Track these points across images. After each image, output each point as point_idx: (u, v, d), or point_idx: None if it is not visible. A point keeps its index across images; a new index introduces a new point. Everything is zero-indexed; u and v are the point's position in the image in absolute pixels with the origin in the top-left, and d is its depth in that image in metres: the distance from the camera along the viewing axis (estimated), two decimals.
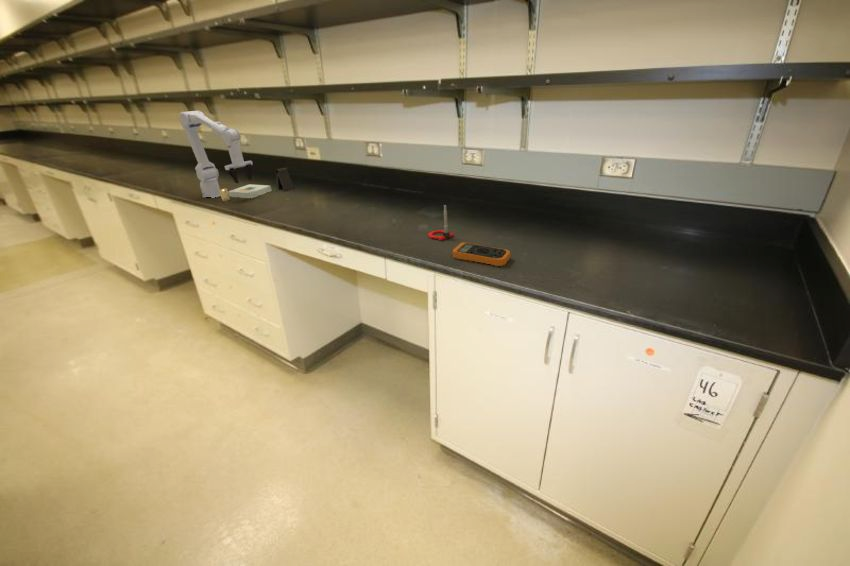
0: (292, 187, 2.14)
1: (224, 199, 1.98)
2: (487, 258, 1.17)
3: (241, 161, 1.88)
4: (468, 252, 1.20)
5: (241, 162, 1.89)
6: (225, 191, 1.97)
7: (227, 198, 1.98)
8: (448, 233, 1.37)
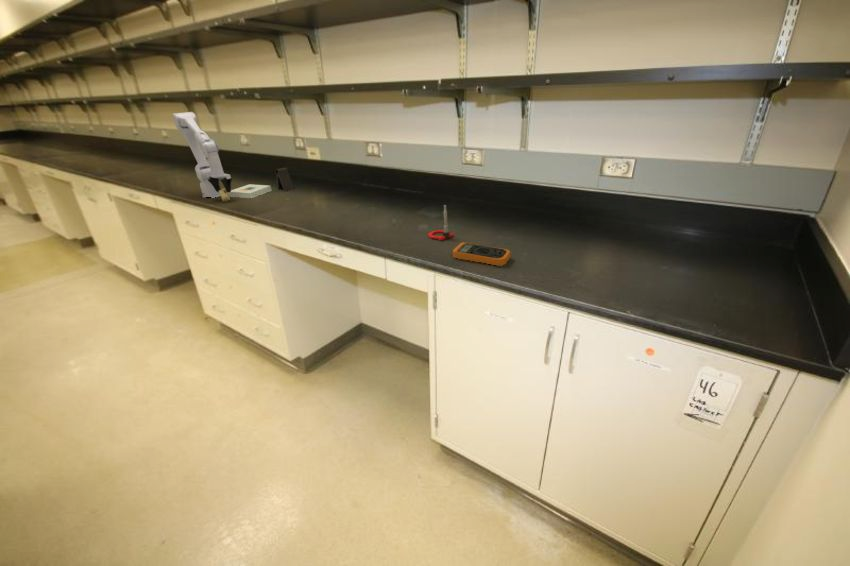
0: (292, 187, 2.14)
1: (224, 199, 1.98)
2: (487, 258, 1.17)
3: (213, 173, 1.90)
4: (468, 252, 1.20)
5: (213, 174, 1.91)
6: (225, 191, 1.97)
7: (227, 198, 1.98)
8: (448, 233, 1.37)
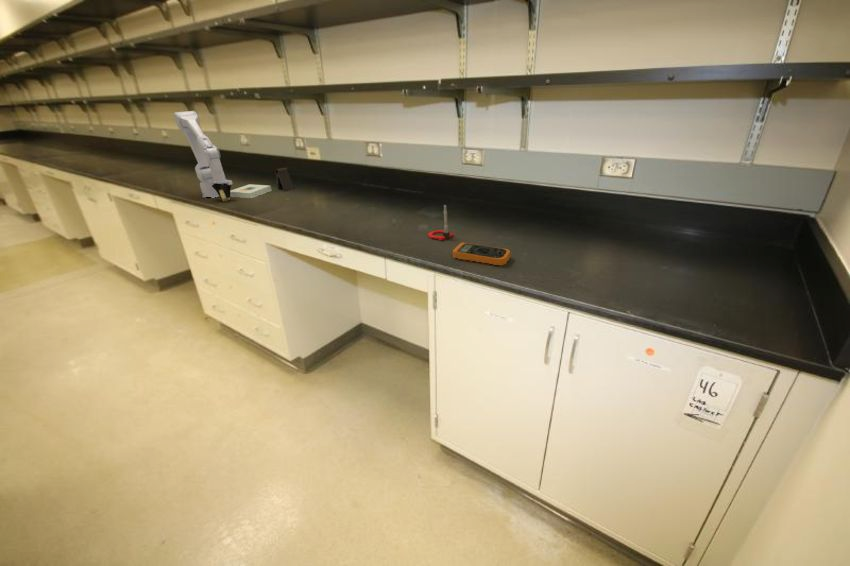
0: (292, 187, 2.14)
1: (224, 199, 1.98)
2: (488, 258, 1.17)
3: (215, 179, 1.92)
4: (468, 252, 1.20)
5: (215, 180, 1.92)
6: None
7: (227, 198, 1.98)
8: (448, 233, 1.37)
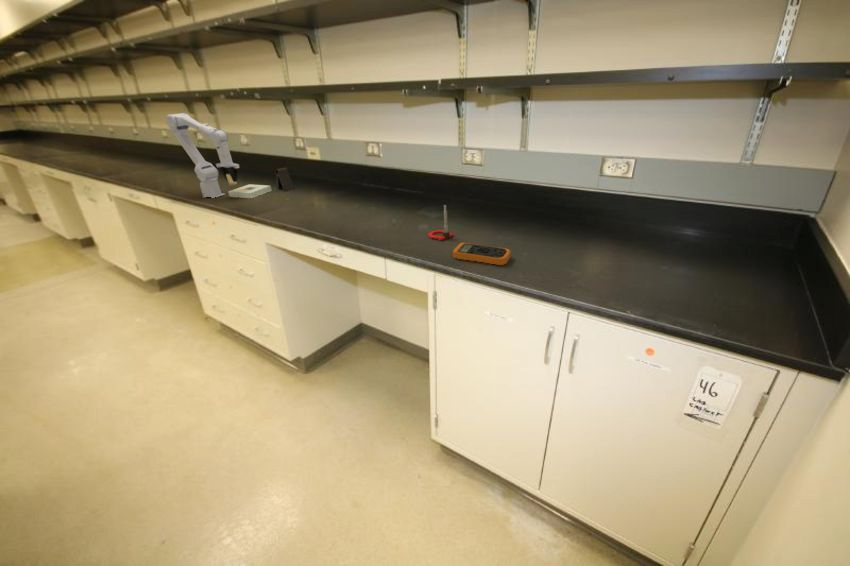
0: (292, 187, 2.14)
1: (231, 183, 1.98)
2: (488, 258, 1.17)
3: (222, 162, 1.93)
4: (469, 252, 1.20)
5: (222, 163, 1.93)
6: None
7: (234, 182, 1.99)
8: (448, 233, 1.37)
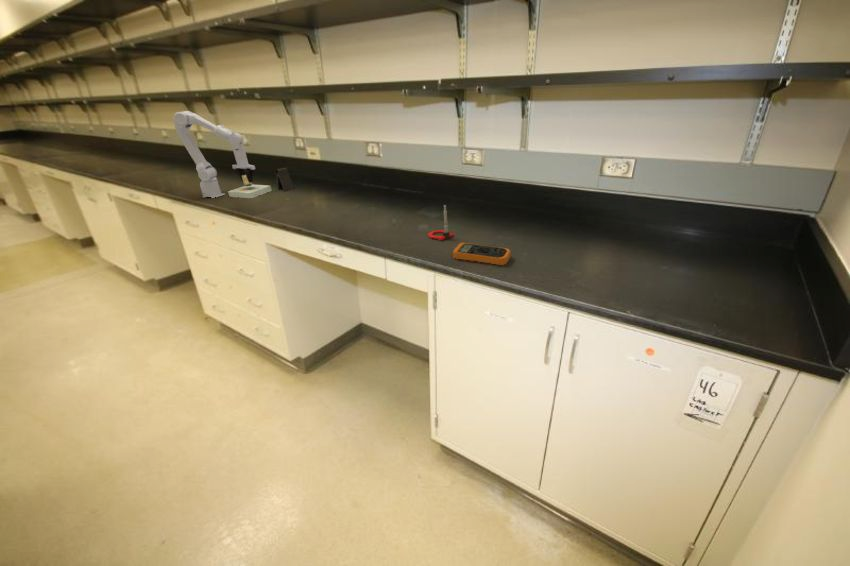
0: (292, 187, 2.14)
1: (246, 184, 2.05)
2: (489, 258, 1.17)
3: (239, 164, 1.99)
4: (469, 252, 1.20)
5: (239, 165, 2.00)
6: None
7: (249, 183, 2.06)
8: (448, 233, 1.37)
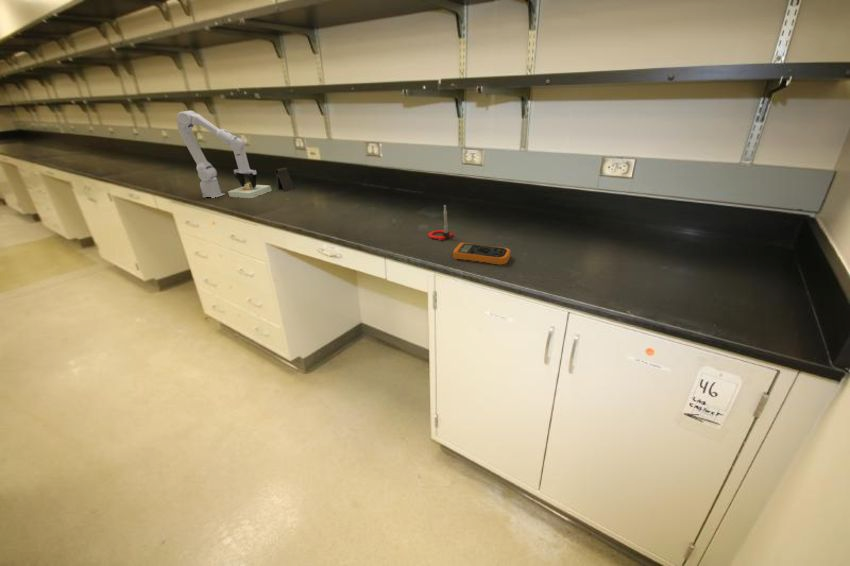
0: (292, 187, 2.14)
1: None
2: (489, 258, 1.17)
3: (240, 169, 2.01)
4: (469, 252, 1.20)
5: (240, 170, 2.01)
6: (250, 185, 2.06)
7: None
8: (448, 233, 1.37)
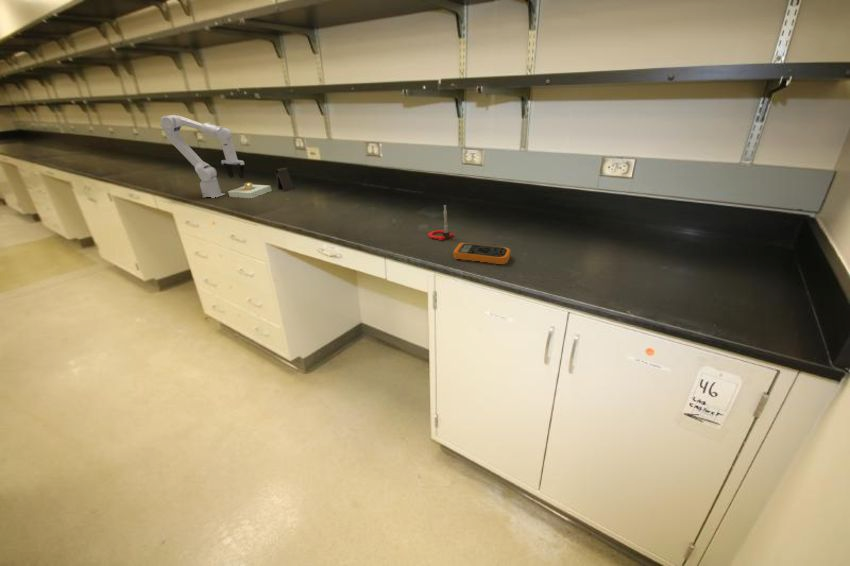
0: (292, 187, 2.14)
1: None
2: (490, 257, 1.17)
3: (227, 159, 1.98)
4: (469, 252, 1.20)
5: (227, 160, 1.98)
6: (250, 185, 2.06)
7: None
8: (448, 233, 1.37)
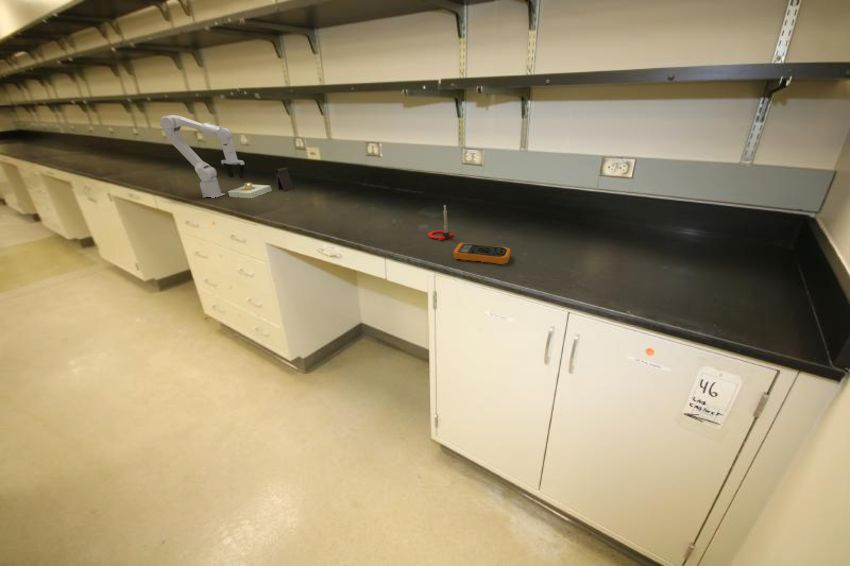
0: (292, 187, 2.14)
1: None
2: (490, 257, 1.17)
3: (227, 159, 1.98)
4: (470, 252, 1.20)
5: (227, 160, 1.98)
6: (250, 185, 2.06)
7: None
8: (448, 233, 1.37)
